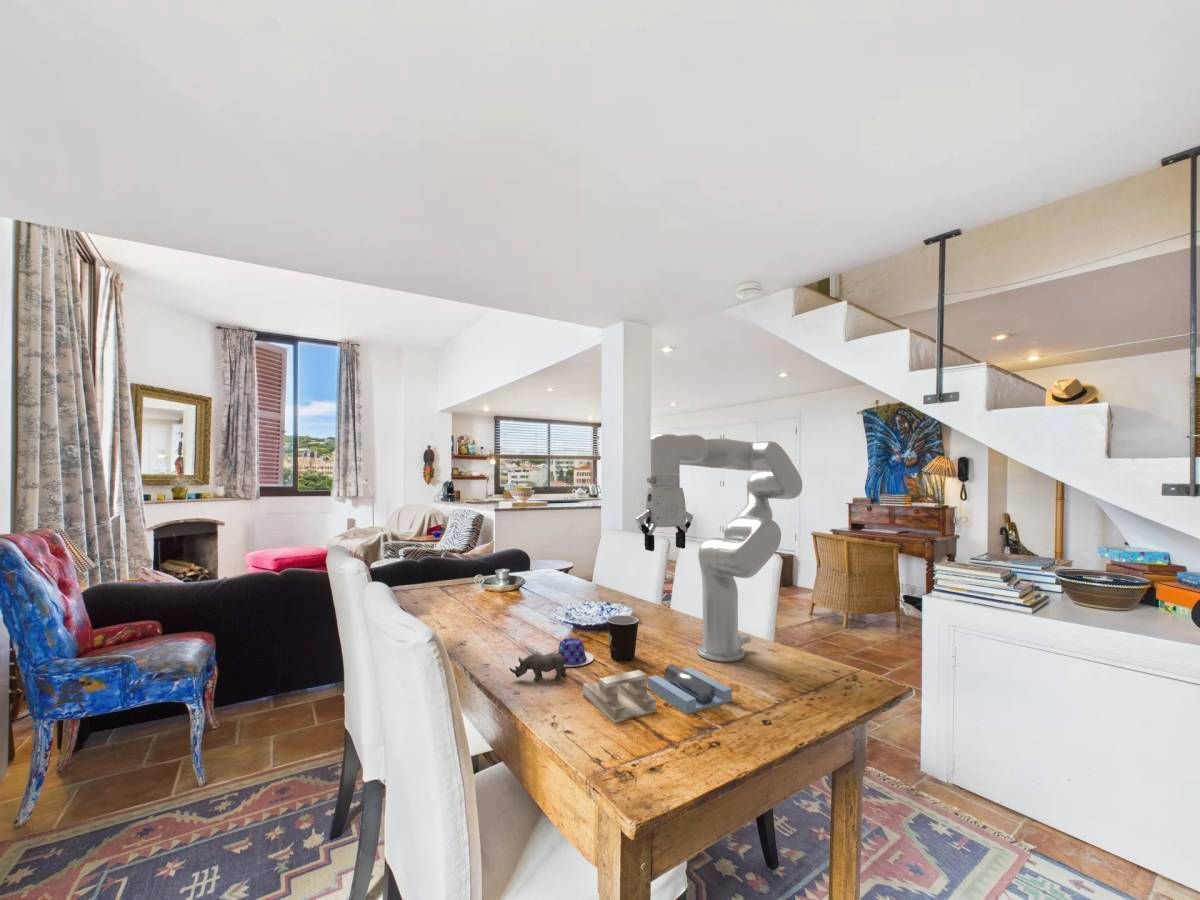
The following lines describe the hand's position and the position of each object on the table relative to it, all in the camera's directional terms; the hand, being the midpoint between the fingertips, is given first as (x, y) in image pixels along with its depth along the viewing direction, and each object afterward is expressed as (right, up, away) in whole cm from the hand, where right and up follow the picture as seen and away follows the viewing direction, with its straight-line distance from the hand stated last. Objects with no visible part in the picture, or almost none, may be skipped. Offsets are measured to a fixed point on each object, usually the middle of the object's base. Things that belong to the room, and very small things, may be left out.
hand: (665, 549), depth 127 cm
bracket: (-13, -29, -20) cm, 38 cm away
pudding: (-24, -31, +6) cm, 40 cm away
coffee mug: (-10, -31, +9) cm, 34 cm away
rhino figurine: (-32, -30, -7) cm, 44 cm away
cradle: (+3, -30, -16) cm, 34 cm away
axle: (+3, -27, -16) cm, 31 cm away
